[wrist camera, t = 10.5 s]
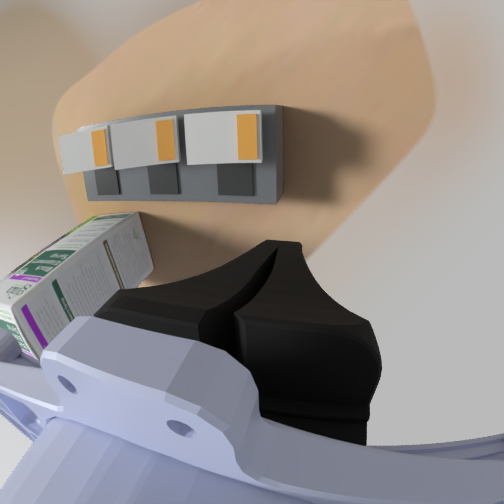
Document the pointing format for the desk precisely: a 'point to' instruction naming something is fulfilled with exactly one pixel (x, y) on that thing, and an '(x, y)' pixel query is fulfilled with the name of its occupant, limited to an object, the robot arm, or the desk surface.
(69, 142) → the rocker
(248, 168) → the rocker switch panel
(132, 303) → the robot arm
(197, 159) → the rocker
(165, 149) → the block
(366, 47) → the desk surface
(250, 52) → the desk surface
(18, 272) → the syrup box
